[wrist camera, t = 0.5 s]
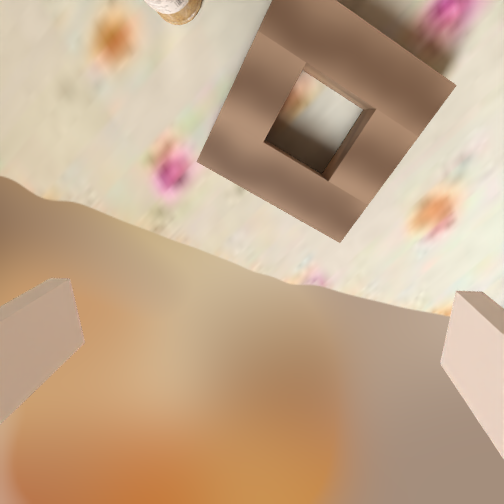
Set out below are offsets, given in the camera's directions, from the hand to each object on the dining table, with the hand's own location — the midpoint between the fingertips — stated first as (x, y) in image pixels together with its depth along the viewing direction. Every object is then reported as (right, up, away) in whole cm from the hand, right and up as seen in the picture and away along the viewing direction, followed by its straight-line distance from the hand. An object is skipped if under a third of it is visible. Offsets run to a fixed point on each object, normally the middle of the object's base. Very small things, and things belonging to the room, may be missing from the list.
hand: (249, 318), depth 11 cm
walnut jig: (+6, +15, +20) cm, 26 cm away
